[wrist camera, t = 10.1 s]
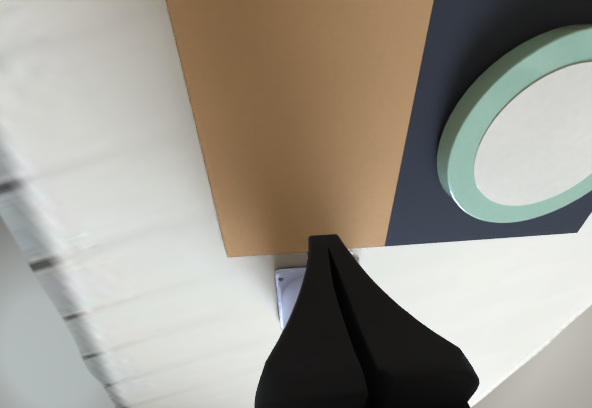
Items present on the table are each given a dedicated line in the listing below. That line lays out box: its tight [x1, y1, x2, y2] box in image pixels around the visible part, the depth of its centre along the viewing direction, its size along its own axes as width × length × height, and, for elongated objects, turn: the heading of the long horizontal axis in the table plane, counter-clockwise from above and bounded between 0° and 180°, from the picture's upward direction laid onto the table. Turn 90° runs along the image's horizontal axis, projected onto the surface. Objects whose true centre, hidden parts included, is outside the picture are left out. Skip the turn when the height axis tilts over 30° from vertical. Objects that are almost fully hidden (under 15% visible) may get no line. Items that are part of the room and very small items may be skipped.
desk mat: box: [166, 0, 592, 257], centre depth 20 cm, size 20×32×1 cm, turn 92°
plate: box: [437, 24, 592, 223], centre depth 19 cm, size 13×13×2 cm
